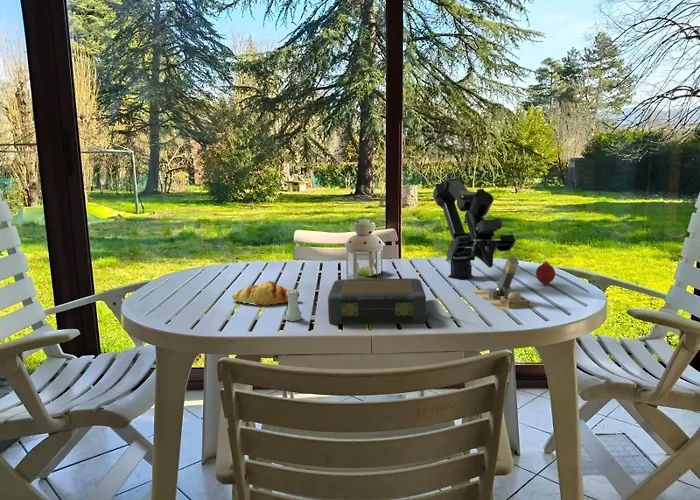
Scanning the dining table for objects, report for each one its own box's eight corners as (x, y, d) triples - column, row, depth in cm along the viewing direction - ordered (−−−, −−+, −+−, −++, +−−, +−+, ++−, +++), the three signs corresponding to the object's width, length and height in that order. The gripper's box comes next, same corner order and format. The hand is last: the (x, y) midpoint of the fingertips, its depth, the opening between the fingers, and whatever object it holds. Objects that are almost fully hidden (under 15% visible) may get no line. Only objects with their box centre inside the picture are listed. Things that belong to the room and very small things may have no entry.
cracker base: (471, 295, 146) (471, 283, 146) (505, 293, 148) (505, 281, 147) (499, 314, 127) (500, 300, 126) (539, 311, 128) (539, 298, 128)
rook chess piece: (285, 317, 131) (284, 288, 129) (302, 316, 131) (301, 287, 130) (285, 322, 126) (283, 292, 125) (302, 321, 126) (300, 291, 125)
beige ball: (504, 304, 130) (505, 292, 130) (511, 302, 133) (511, 289, 132) (517, 307, 128) (517, 294, 127) (523, 304, 130) (524, 291, 130)
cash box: (420, 302, 141) (420, 277, 140) (426, 325, 122) (426, 295, 120) (335, 303, 143) (334, 278, 142) (328, 325, 123) (326, 296, 122)
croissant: (230, 315, 146) (223, 296, 141) (238, 292, 154) (232, 273, 149) (298, 314, 143) (294, 294, 138) (303, 291, 151) (299, 272, 146)
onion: (556, 287, 153) (557, 262, 152) (537, 286, 154) (538, 262, 153) (552, 283, 159) (553, 259, 157) (534, 282, 160) (534, 259, 158)
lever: (493, 292, 139) (506, 257, 130) (504, 291, 140) (517, 256, 131) (500, 306, 135) (513, 271, 126) (511, 305, 136) (525, 270, 127)
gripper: (455, 210, 145) (468, 253, 136) (513, 208, 148) (530, 249, 139) (446, 232, 154) (458, 274, 146) (501, 230, 157) (516, 270, 148)
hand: (490, 266), depth 144 cm, fingers closed
